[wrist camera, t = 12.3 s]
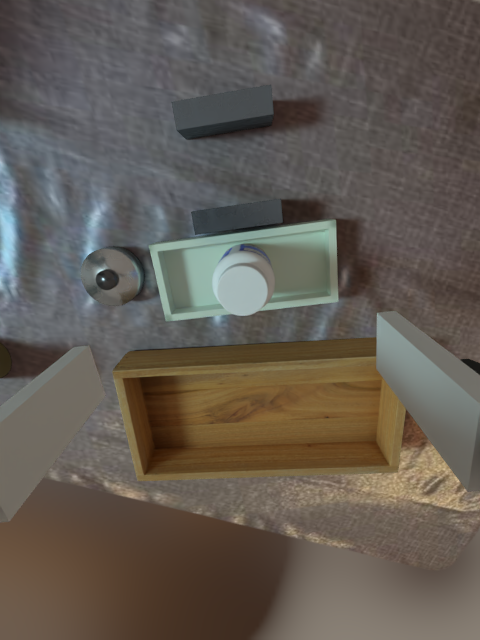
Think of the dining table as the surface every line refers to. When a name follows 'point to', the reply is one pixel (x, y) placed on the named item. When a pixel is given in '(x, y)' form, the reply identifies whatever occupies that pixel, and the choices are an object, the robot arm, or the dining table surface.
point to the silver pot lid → (112, 275)
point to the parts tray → (284, 254)
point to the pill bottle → (243, 280)
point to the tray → (259, 411)
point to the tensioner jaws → (226, 117)
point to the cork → (4, 361)
